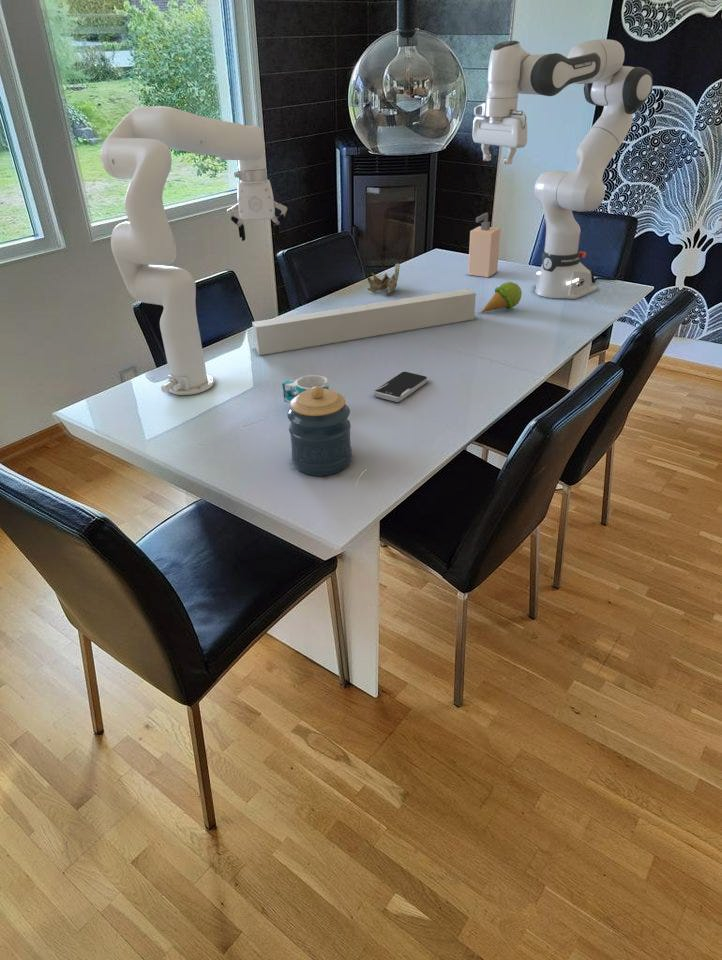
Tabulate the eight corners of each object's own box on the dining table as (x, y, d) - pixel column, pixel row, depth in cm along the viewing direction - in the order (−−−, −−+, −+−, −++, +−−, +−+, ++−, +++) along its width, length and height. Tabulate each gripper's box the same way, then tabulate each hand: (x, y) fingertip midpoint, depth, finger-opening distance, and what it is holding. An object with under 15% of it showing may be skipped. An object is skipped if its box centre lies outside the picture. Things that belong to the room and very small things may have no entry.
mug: (318, 422, 160) (315, 391, 156) (277, 412, 166) (274, 381, 161) (336, 409, 166) (334, 377, 162) (297, 399, 171) (294, 368, 167)
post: (259, 355, 198) (255, 327, 193) (255, 349, 202) (252, 321, 197) (474, 319, 217) (475, 293, 212) (466, 314, 221) (468, 288, 216)
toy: (490, 328, 222) (529, 303, 221) (483, 307, 216) (523, 282, 215) (478, 316, 228) (516, 293, 227) (471, 297, 222) (510, 272, 221)
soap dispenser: (476, 269, 264) (480, 210, 252) (497, 271, 260) (501, 211, 248) (463, 277, 255) (466, 216, 243) (484, 280, 251) (488, 218, 239)
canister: (282, 471, 142) (273, 395, 133) (307, 442, 152) (301, 370, 143) (338, 481, 138) (333, 404, 129) (360, 451, 148) (358, 377, 139)
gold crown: (411, 271, 247) (402, 252, 239) (394, 304, 243) (385, 285, 235) (390, 269, 252) (380, 250, 243) (373, 301, 248) (363, 283, 239)
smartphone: (428, 377, 177) (398, 398, 167) (428, 381, 178) (398, 403, 168) (403, 371, 181) (372, 391, 171) (403, 375, 182) (373, 396, 171)
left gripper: (220, 179, 184) (229, 243, 194) (283, 176, 185) (289, 240, 194) (224, 175, 191) (232, 237, 200) (284, 172, 191) (290, 234, 200)
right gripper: (535, 110, 185) (529, 165, 192) (486, 106, 200) (483, 157, 207) (518, 111, 182) (513, 167, 190) (470, 108, 197) (467, 159, 205)
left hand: (260, 239), depth 197 cm, fingers open, 9 cm apart
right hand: (497, 162), depth 199 cm, fingers open, 8 cm apart
